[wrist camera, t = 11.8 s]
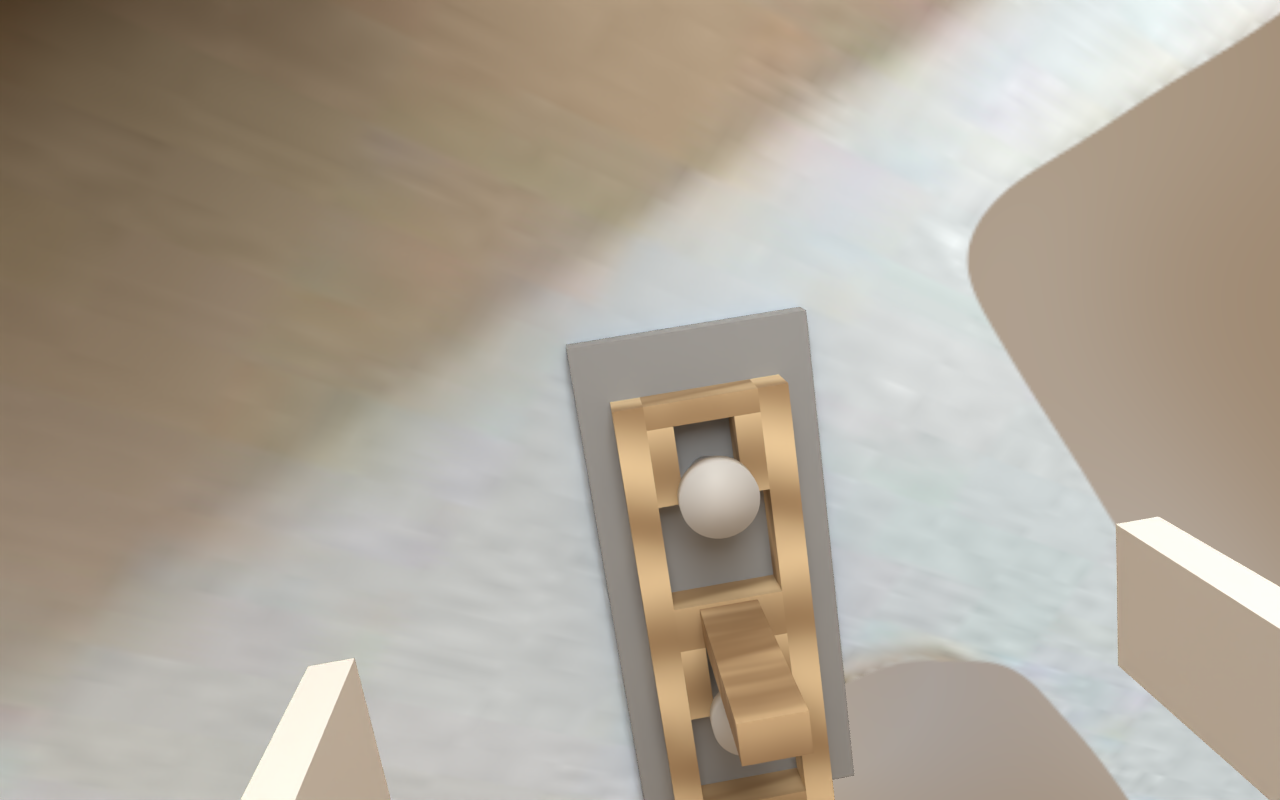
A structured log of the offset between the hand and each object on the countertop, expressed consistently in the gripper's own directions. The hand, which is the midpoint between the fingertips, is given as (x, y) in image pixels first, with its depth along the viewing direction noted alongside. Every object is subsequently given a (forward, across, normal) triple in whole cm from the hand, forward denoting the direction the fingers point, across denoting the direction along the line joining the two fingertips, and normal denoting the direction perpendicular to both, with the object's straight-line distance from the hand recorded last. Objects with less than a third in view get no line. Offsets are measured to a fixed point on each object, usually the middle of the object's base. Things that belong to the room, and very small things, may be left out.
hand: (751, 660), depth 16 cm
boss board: (+31, +3, -14) cm, 34 cm away
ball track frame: (+30, +3, -15) cm, 34 cm away
